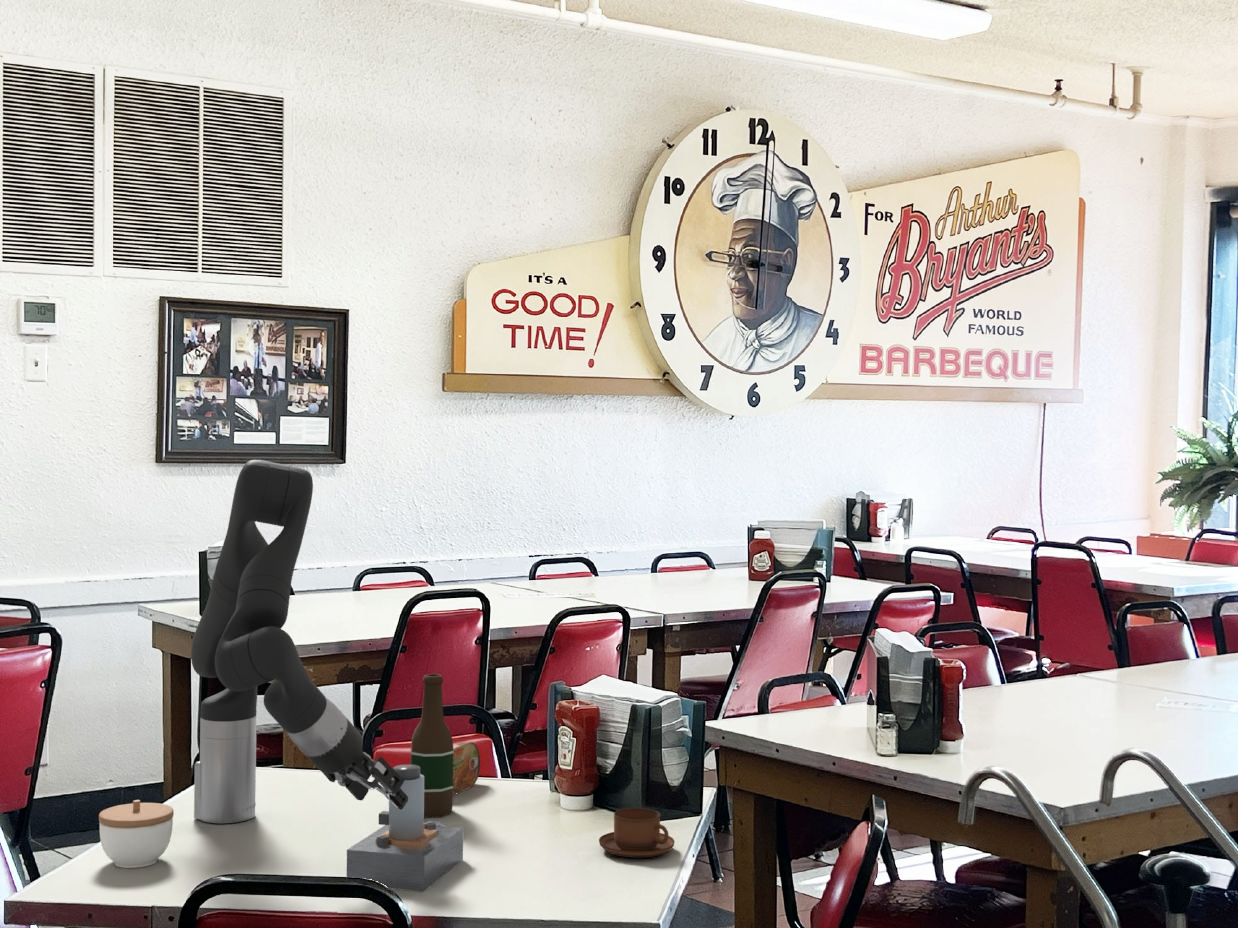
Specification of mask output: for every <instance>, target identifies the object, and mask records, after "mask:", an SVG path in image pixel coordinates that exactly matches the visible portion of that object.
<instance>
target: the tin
mask: <svg viewBox="0 0 1238 928" xmlns="http://www.w3.org/2000/svg"><path fill="white" fill-rule="evenodd" d="M480 769H481V755H480V751H479V748H478V746H477V745H476V743H475V742H472V741H469V742H458V743H455V744H453V795H454V796H456V795H457V794H456V793H458V794H460V793H462V792H464V791H466V790H467V788H468V789H470V788H472V787H474V786H475V784H476V783H477V781H478V779H479V775H480V771H481V770H480ZM469 787H470V788H469ZM465 789H466V790H465ZM463 790H464V791H463ZM459 792H460V793H459ZM455 794H456V795H455Z"/></svg>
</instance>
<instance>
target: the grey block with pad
mask: <svg viewBox="0 0 1238 928" xmlns="http://www.w3.org/2000/svg"><path fill="white" fill-rule="evenodd" d="M463 860H464V827H463V826H462V827H461V826H460V827H459V826H449V825H448V826H447V825H443V823H440V822H439V821H436V820H429V821H428V822H426V823H425V822H424V835H423V836H421V837H419V838H415V839H395V838H391V837H390V836H389V825H382V826H381V827H380V828H379V829H377V830H376V831H374V832H372V833H371V834H369V835H368V836H366V837H365V838H363V839H361V840H360V841H358V842H356V843H355V844H353V845H352V846H351V847H348V849H346V878H347V877H353V878H366V879H372V880H374V881H378V882H379V883H382V884H384V885H386V886H387V887H388V888H387V889H393V890H394V889H395V890H404V891H405V890H406V891H415V892H426V890H428V889H429V888H430V887H431V886H433V885H434V884H435V883H436V882H437V881H439V880H440V879H442V877H443V876H446V874H448V873H449V872H450V871H451V870H452V869H453V868H456V866H458V864H460V863H461V862H462V861H463Z"/></svg>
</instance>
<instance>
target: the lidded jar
mask: <svg viewBox="0 0 1238 928" xmlns="http://www.w3.org/2000/svg"><path fill="white" fill-rule="evenodd" d="M174 810H175V809H174V808H173V807H172V806H170V805H168V804H164V803H159V802H158V803H157V802H141V800H140V799H135V800H132V803H125V804H124V803H123V804H118V805H114V806H111V807H108V808H105V809H103V810H101V811H100V812H99V814H98V821H99V822H98V823H99V840H100V844H101V848H102V850H103V851H104V853H105V855H106V857H108V858H109V859H110V860H111V861H112V862H113V863H114V866H116V867H118V868H121V869H122V868H123V869H137V868H138V869H139V868H145V867H149V866H152V865H154V864H156V863H157V862H158V859H159V858H160V857H161V856H162V855H163V854H164V852H165V851H166V850H167V848H168V846H169V844H170V841H171V838H172V832H173V826H174V825H173V824H174V822H173V821H174V819H173V817H174V815H175V814H174Z"/></svg>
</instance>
